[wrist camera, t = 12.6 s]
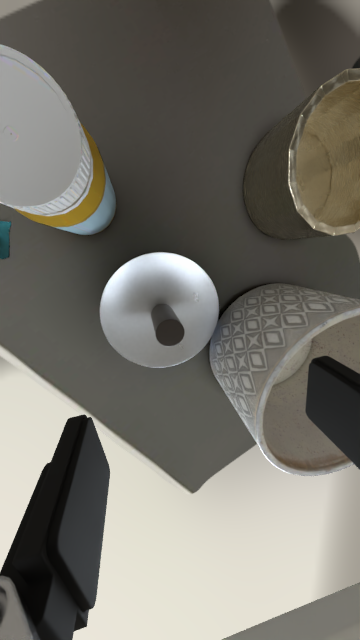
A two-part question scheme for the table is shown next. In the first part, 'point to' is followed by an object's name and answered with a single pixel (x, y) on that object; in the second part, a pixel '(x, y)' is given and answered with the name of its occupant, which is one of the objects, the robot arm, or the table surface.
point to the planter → (284, 368)
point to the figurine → (4, 239)
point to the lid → (159, 309)
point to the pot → (310, 166)
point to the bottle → (48, 153)
